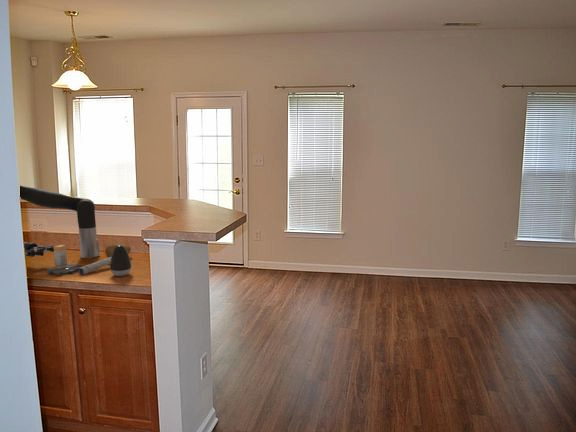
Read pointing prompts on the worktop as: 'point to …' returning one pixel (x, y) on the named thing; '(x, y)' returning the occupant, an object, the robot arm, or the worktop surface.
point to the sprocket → (63, 269)
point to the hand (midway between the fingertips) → (49, 251)
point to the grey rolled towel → (94, 266)
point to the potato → (111, 247)
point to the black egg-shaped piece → (120, 261)
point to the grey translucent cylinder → (60, 256)
